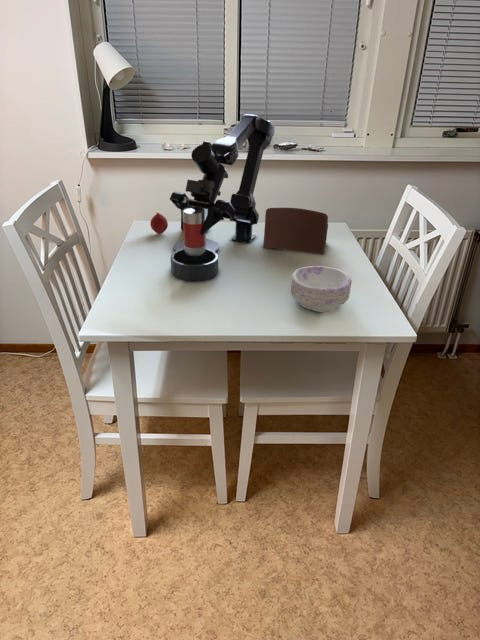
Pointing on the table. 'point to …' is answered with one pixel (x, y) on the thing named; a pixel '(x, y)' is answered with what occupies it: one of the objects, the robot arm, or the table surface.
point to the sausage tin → (193, 231)
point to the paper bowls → (320, 287)
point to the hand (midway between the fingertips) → (191, 232)
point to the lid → (208, 245)
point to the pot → (194, 266)
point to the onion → (159, 223)
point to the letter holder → (295, 230)
